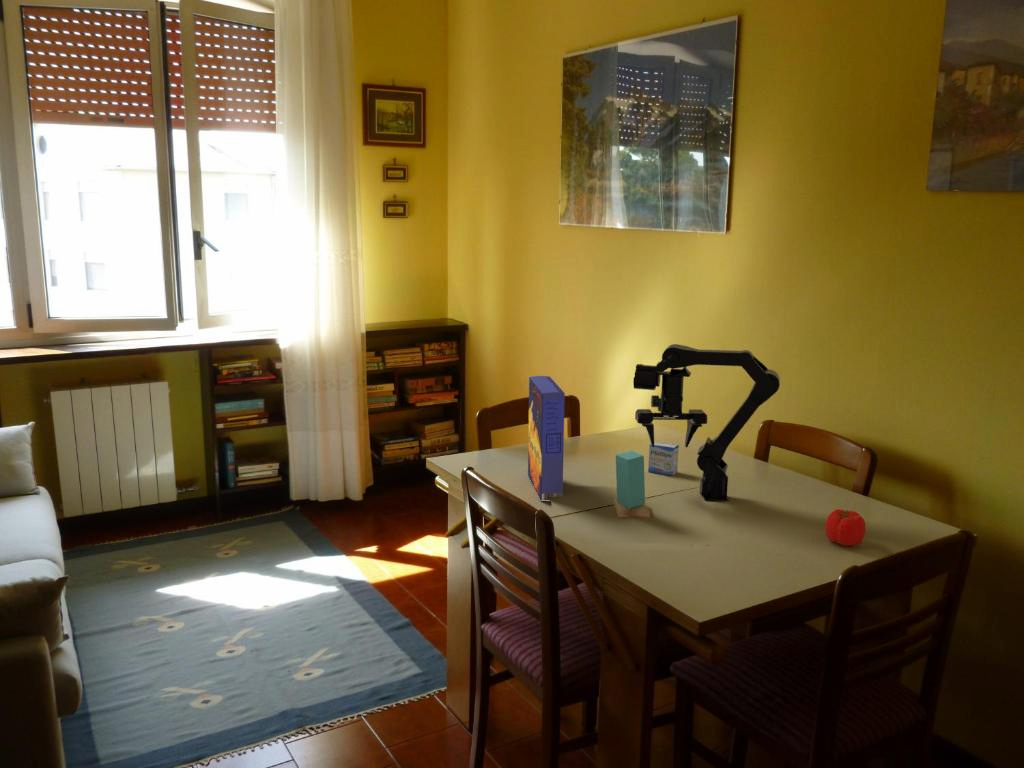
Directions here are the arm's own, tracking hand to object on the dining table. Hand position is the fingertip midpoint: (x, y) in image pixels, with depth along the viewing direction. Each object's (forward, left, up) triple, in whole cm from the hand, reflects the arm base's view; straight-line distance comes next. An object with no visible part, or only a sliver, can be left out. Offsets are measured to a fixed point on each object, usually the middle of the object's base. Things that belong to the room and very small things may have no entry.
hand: (669, 446), depth 232 cm
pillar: (+13, +19, -10) cm, 25 cm away
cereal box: (+34, -3, -13) cm, 37 cm away
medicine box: (-2, -18, -13) cm, 22 cm away
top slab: (+13, +19, -12) cm, 25 cm away
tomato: (-35, +36, -13) cm, 52 cm away
